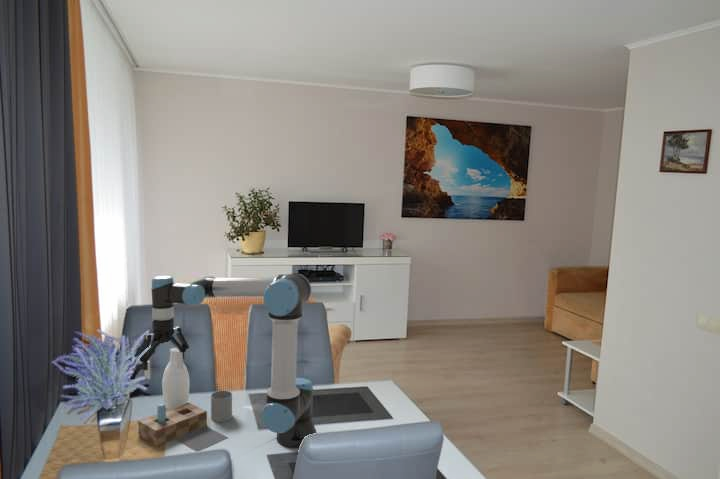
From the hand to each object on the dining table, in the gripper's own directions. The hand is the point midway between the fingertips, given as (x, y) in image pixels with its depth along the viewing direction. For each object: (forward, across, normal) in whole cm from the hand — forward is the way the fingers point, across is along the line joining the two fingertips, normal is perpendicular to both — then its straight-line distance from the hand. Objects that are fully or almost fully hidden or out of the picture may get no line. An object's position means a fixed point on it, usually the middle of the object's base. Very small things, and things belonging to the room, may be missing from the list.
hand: (164, 372), depth 202 cm
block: (+25, -4, -1) cm, 25 cm away
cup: (+25, -23, +4) cm, 34 cm away
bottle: (+25, -17, -19) cm, 35 cm away
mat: (+25, -7, +13) cm, 29 cm away
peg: (+25, +1, -1) cm, 25 cm away
